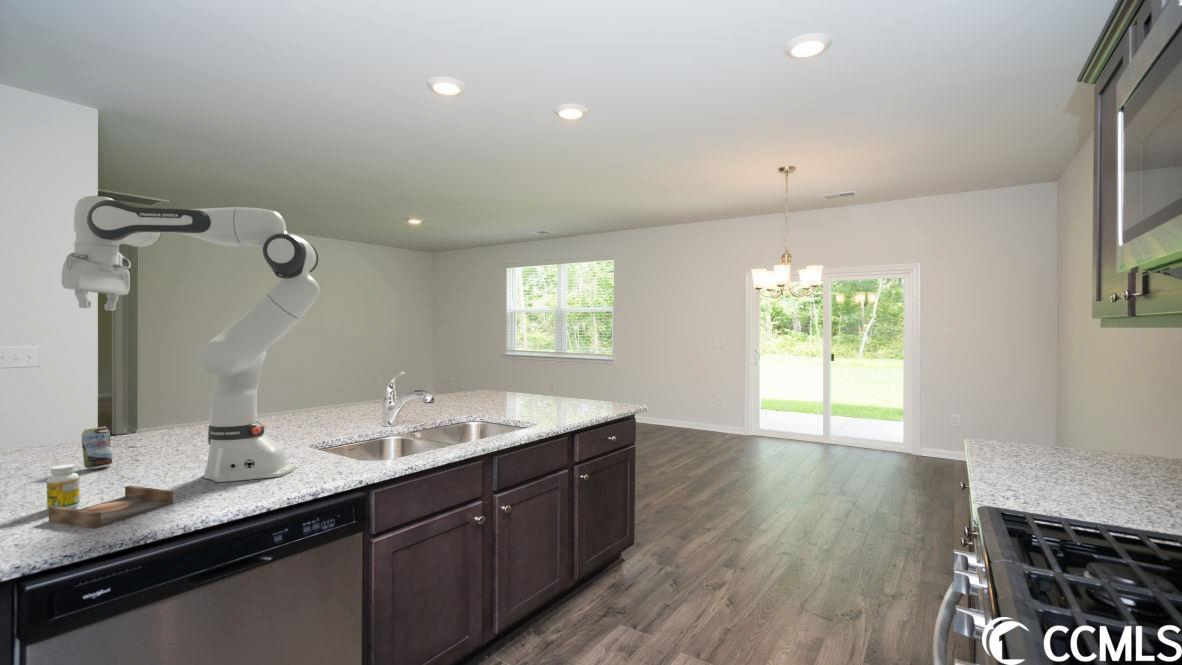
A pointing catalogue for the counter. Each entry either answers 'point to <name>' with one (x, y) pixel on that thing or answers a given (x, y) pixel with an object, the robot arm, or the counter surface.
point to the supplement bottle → (63, 487)
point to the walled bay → (114, 508)
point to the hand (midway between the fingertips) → (97, 309)
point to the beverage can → (96, 448)
